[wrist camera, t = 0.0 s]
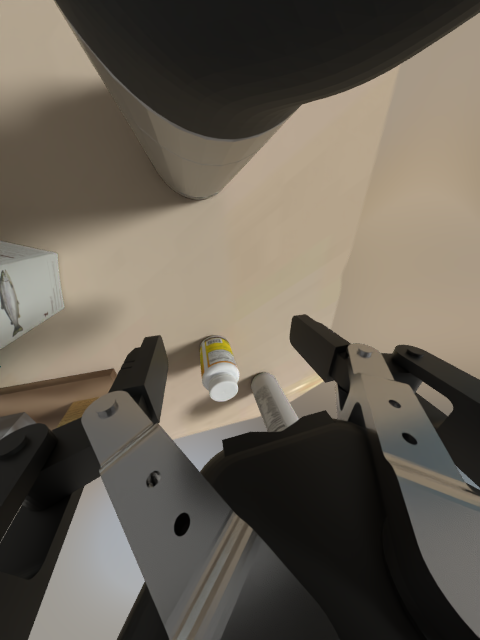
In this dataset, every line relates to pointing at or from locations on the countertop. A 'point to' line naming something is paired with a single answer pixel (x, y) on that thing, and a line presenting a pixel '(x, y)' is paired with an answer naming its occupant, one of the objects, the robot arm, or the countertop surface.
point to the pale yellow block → (76, 410)
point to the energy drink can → (272, 403)
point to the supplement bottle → (218, 368)
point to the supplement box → (27, 289)
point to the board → (49, 399)
